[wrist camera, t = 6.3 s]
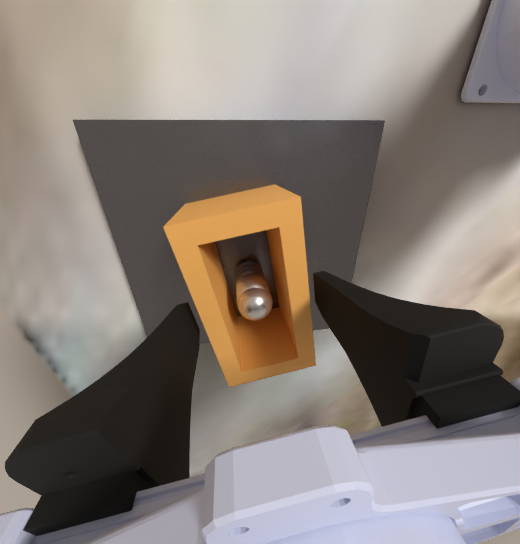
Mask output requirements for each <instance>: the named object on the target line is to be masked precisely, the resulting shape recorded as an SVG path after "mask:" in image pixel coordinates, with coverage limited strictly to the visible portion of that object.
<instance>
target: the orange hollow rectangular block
mask: <svg viewBox="0 0 520 544" xmlns="http://www.w3.org/2000/svg"><path fill="white" fill-rule="evenodd" d="M163 228H164V230H165V233H166V235H167V238H168V240H169V243H170V245H171V247H172V250H173V252H174V255H175V257H176V260H177V262H178V264H179V267H180V269H181V272H182V274H183V277H184V279H185V281H186V284H187V286H188V289H189V291H190V294H191V296H192V298H193V301H194V303H195V306H196V308H197V311H198V313H199V315H200V318H201V320H202V323H203V325H204V328H205V330H206V332H207V335H208V337H209V340H210V342H211V345H212V347H213V349H214V352H215V354H216V357H217V359H218V362H219V364H220V366H221V369H222V371H223V374H224V376H225V379H226V381H227V383H228V386H229V387H232V386H236V385H240V384H244V383H247V382H251V381H255V380H259V379H263V378H267V377H271V376H275V375H279V374H283V373H287V372H291V371H295V370H299V369H303V368H307V367H311V366H315V365H316V362H315V351H314V340H313V328H312V317H311V306H310V295H309V283H308V272H307V261H306V249H305V238H304V227H303V215H302V204H301V197H300V196H298V195H296V194H294V193H292V192H290V191H288V190H286V189H284V188H282V187H279V186H277V185H275V184H274V185H270V186H265V187H260V188H256V189H251V190H246V191H242V192H237V193H233V194H228V195H223V196H219V197H214V198H210V199H205V200H200V201H196V202H191V203H186V204H184V205H183V207H182V208H181V209H180V210H179V211H178V212H177V213H176V214H175V215H174V216H173V217H172V218H171V219H170V220H169V221H168V222H167V223H166V224H165V226H164V227H163ZM264 230H266V233H267V239H268V245H269V250H270V256H271V262H272V267H273V273H274V279H275V284H276V290H277V296H278V301H279V307H278V308H274V309H271V311H270V313H269V314H268V315H267V316H266V317H265V318H264V319H261V320H258V321H252V320H248V319H246V318H245V317H243V316H240V317H237V314H236V311H235V307H234V304H233V301H232V297H231V294H230V291H229V288H228V284H227V281H226V278H225V274H224V271H223V268H222V265H221V261H220V258H219V255H218V251H217V248H216V245H215V241H220V240H224V239H229V238H233V237H237V236H242V235H246V234H251V233H255V232H260V231H264Z"/></svg>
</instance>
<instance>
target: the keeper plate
mask: <svg viewBox="0 0 520 544" xmlns="http://www.w3.org/2000/svg"><path fill="white" fill-rule="evenodd" d="M73 122H74V125H75V128H76V131H77V134H78V137H79V139H80V142H81V145H82V148H83V151H84V154H85V157H86V160H87V163H88V165H89V168H90V171H91V174H92V177H93V180H94V183H95V186H96V189H97V191H98V194H99V197H100V200H101V203H102V206H103V209H104V212H105V215H106V217H107V220H108V223H109V226H110V229H111V232H112V235H113V238H114V241H115V243H116V246H117V249H118V252H119V255H120V258H121V261H122V264H123V267H124V269H125V272H126V275H127V278H128V281H129V284H130V287H131V290H132V293H133V295H134V298H135V301H136V304H137V307H138V310H139V313H140V316H141V319H142V321H143V324H144V327H145V330H146V333H147V336H149V335H150V334H151V333H152V332H153V331H154V330H155V329H156V328H157V327H158V326H159V324H160V323H161V322H162V321H163V320H164V319H165V318H166V317H167V315H168V314H169V313H170V312H171V311H172V310H173V309H174V308H175V307H176V306H177V305H178V304H183V303H187V302H188V303H189V305H190V308H191V310H192V312H193V315H194V317H195V319H196V322H197V324H198V326H199V329H200V342H199V343H206V342H210V340H209V337H208V335H207V332H206V330H205V328H204V325H203V323H202V320H201V318H200V315H199V313H198V311H197V308H196V306H195V303H194V301H193V298H192V296H191V294H190V291H189V289H188V286H187V284H186V281H185V279H184V277H183V274H182V272H181V269H180V267H179V264H178V262H177V260H176V257H175V255H174V252H173V250H172V247H171V245H170V243H169V240H168V238H167V235H166V233H165V230H164V228H163V227H164V226H165V224H166V223H167V222H168V221H169V220H170V219H171V218H172V217H173V216H174V215H175V214H176V213H177V212H178V211H179V210H180V209H181V208H182V207H183V205H184V204H186V203H191V202H196V201H200V200H205V199H210V198H214V197H219V196H223V195H228V194H233V193H237V192H242V191H246V190H251V189H256V188H260V187H265V186H270V185H274V184H275V185H277V186H279V187H282V188H284V189H286V190H288V191H290V192H292V193H294V194H296V195H298V196H300V197H301V204H302V215H303V227H304V238H305V249H306V261H307V272H308V283H309V295H310V306H311V317H312V328H313V330H318V329H327V328H329V326H328V325H327V323H326V322H325V320H324V319H323V317H322V315H321V313H320V311H319V309H318V307H317V305H316V303H315V295H314V281H313V273H315V272H320V271H325V272H328V273H330V274H332V275H334V276H336V277H339V278H341V279H343V280H345V281H347V282H349V283H351V281H352V277H353V272H354V267H355V262H356V257H357V252H358V248H359V243H360V238H361V233H362V228H363V224H364V219H365V214H366V209H367V204H368V199H369V195H370V190H371V185H372V180H373V175H374V170H375V166H376V161H377V156H378V151H379V146H380V142H381V137H382V132H383V127H384V122H385V121H371V120H73ZM215 245H216V248H217V251H218V255H219V258H220V261H221V265H222V268H223V271H224V274H225V278H226V281H227V284H228V288H229V291H230V294H231V297H232V301H233V304H234V307H235V311H236V314H237V317H240V316H243V317H245V318H246V319H248V320H252V321H258V320H261V319H264V318H265V317H266V316H267V315H268V314H269V313H270V311H271V309H274V308H278V307H279V301H278V296H277V290H276V284H275V279H274V273H273V267H272V262H271V256H270V250H269V245H268V239H267V233H266V230H264V231H260V232H255V233H251V234H246V235H242V236H237V237H233V238H229V239H224V240H220V241H215Z"/></svg>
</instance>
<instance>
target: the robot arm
mask: <svg viewBox="0 0 520 544" xmlns="http://www.w3.org/2000/svg"><path fill="white" fill-rule="evenodd" d="M479 89H480V93H479V94H478V92H479ZM461 99H462V101H463V102H466V103H520V0H492V1H491V4H490V7H489V10H488V13H487V16H486V19H485V22H484V25H483V28H482V31H481V34H480V38H479V41H478V44H477V47H476V50H475V53H474V56H473V59H472V62H471V65H470V68H469V71H468V74H467V77H466V80H465V83H464V86H463V89H462V93H461ZM313 281H314V295H315V303H316V305H317V307H318V309H319V311H320V313H321V315H322V317H323V319H324V320H325V322H326V323H327V325H328V326H329V328H330V329H331V331H332V332H333V334H334V335H335V337H336V338H337V340H338V341H339V343H340V344H341V346H342V347H343V349H344V350H345V352H346V354H347V356H348V358H349V359H350V361H351V363H352V365H353V367H354V369H355V371H356V373H357V375H358V377H359V379H360V381H361V383H362V385H363V387H364V389H365V391H366V393H367V395H368V397H369V399H370V402H371V404H372V406H373V408H374V410H375V412H376V414H377V417H378V419H379V421H380V423H381V426H382V427H379V428H376V429H372V430H368V431H364V432H360V433H357V434H353V435H349V434H348V432H347V430H345V429H343V428H340V427H337V426H333V425H324V426H315V427H310V428H307V429H303V430H299V431H295V432H291V433H288V434H284V435H280V436H276V437H272V438H269V439H265V440H261V441H257V442H253V443H249V444H246V445H242V446H238V447H234V448H232V449H229V450H227V451H224V452H222V453H220V454H218V455H217V456H216V457H215V458H214V459H213V460H212V461H211V462H210V463H209V464H208V465H207V466H206V469H205V474H202V475H199V476H195V477H191V478H189V448H190V415H191V398H192V388H193V381H194V375H195V369H196V363H197V357H198V351H199V342H200V329H199V326H198V324H197V322H196V319H195V317H194V315H193V312H192V310H191V308H190V305H189V303H188V302H187V303H183V304H178V305H177V306H176V307H175V308H174V309H173V310H172V311H171V312H170V313H169V314H168V315H167V317H166V318H165V319H164V320H163V321H162V322H161V323H160V324H159V326H158V327H157V328H156V329H155V330H154V331H153V332H152V333H151V334H150V335H149V336H148V337H147V338H146V339H145V340H144V341H143V342H142V343H141V344H140V345H139V346H138V347H137V348H136V349H135V350H134V351H133V352H132V353H131V354H130V355H129V356H127V357H126V358H125V359H124V360H123V361H122V362H120V363H119V364H118V365H117V366H115V367H114V368H113V369H111V370H110V371H109V372H108V373H106V374H105V375H104V376H103V377H101V378H100V379H99V380H97V381H96V382H94V383H93V384H91V385H90V386H89V387H87V388H86V389H84V390H83V391H81V392H80V393H78V394H77V395H75V396H74V397H72V398H71V399H69V400H68V401H66V402H64V403H63V404H61V405H59V406H58V407H56V408H55V409H53V410H51V411H50V412H48V413H46V414H45V415H43V416H41V417H40V418H38V419H37V420H35V421H34V423H33V424H32V426H31V427H30V428H29V430H28V431H27V433H26V434H25V435H24V437H23V438H22V439H21V441H20V442H19V444H18V445H17V446H16V448H15V449H14V451H13V452H12V453H11V455H10V456H9V457H8V459H7V460H6V462H5V470H6V472H7V474H8V475H9V477H11V478H12V479H13V480H15V481H16V482H18V483H20V484H22V485H23V486H25V487H27V488H29V489H31V490H33V491H34V492H36V493H38V494H40V495H42V496H41V498H40V500H39V501H38V504H37V505H36V507H35V509H33V508H24V509H18V510H15V511H11V512H7V513H3V514H0V544H477V543H480V542H482V541H485V540H488V539H491V538H493V537H497V536H499V535H502V534H505V533H508V532H510V531H514V530H516V529H519V528H520V378H518V379H515V380H514V381H512V382H511V383H509V382H508V381H507V380H505V379H504V378H503V377H501V376H500V375H502V374H503V371H502V369H500V368H499V367H498V366H496V365H495V364H494V363H493V361H494V359H495V357H496V355H497V353H498V351H499V349H500V347H501V345H502V342H503V339H504V334H503V330H502V328H501V326H499V325H498V324H496V323H494V322H493V321H491V320H490V319H488V318H486V317H485V316H483V315H481V314H480V313H478V312H476V311H474V310H464V309H454V308H444V307H437V306H431V305H424V304H419V303H413V302H409V301H404V300H400V299H396V298H392V297H388V296H385V295H382V294H378V293H375V292H372V291H369V290H367V289H364V288H361V287H359V286H357V285H354V284H352V283H349V282H347V281H345V280H343V279H341V278H339V277H336V276H334V275H332V274H330V273H328V272H325V271H320V272H315V273H313Z"/></svg>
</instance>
